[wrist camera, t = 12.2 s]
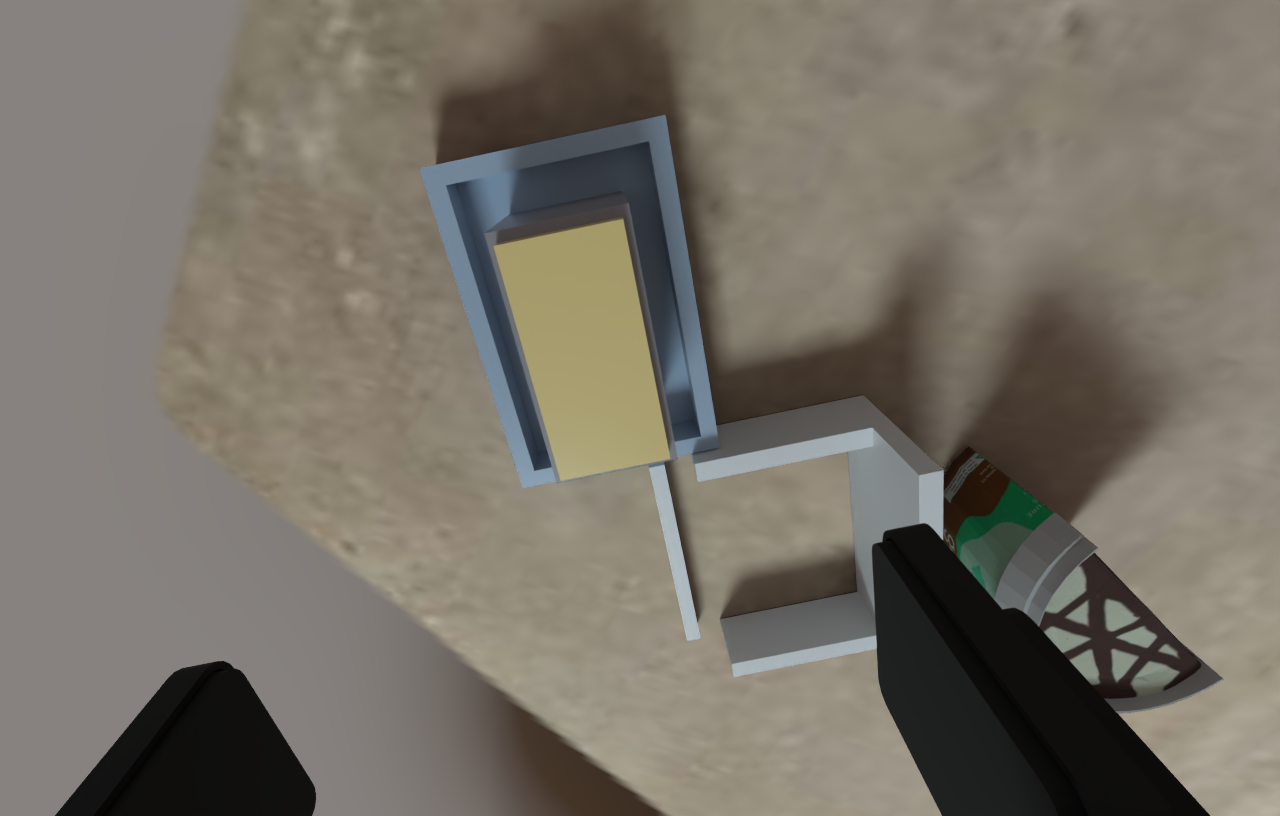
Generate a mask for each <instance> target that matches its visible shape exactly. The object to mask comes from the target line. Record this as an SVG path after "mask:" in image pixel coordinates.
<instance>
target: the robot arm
mask: <svg viewBox="0 0 1280 816" xmlns="http://www.w3.org/2000/svg"><path fill="white" fill-rule="evenodd" d="M872 566H873V585H874V604H875V622H876V641H877V660H878V678H879V684H880V688H881V692H882V695H883V698H884V701H885V703H886V705H887V707H888V709H889V711H890V713H891V715H892V717H893V719H894V721H895V723H896V725H897V727H898V729H899V731H900V733H901V735H902V737H903V739H904V741H905V743H906V745H907V747H908V749H909V751H910V753H911V755H912V757H913V759H914V761H915V763H916V765H917V767H918V769H919V771H920V773H921V775H922V777H923V779H924V781H925V783H926V785H927V787H928V788H929V790H930V792H931V794H932V796H933V798H934V800H935V802H936V804H937V806H938V808H939V810H940V812H941V814H942V816H1210V815H1209V814H1208V813H1207V812H1206V810H1205V809H1204V808H1203V807H1202V806H1201V805H1200V804H1199V803H1198V802H1197V801H1196V799H1195V798H1194V797H1193V796H1192V795H1191V794H1190V793H1189V792H1188V791H1187V790H1186V788H1185V787H1184V786H1183V785H1182V784H1181V783H1180V782H1179V781H1178V780H1177V779H1176V777H1175V776H1174V775H1173V774H1172V773H1171V772H1170V771H1169V770H1168V769H1167V767H1166V766H1165V765H1164V764H1163V763H1162V762H1161V761H1160V760H1159V759H1158V758H1157V756H1156V755H1155V754H1154V753H1153V752H1152V751H1151V750H1150V749H1149V748H1148V747H1147V745H1146V744H1145V743H1144V742H1143V741H1142V740H1141V739H1140V738H1139V737H1138V735H1137V734H1136V733H1135V732H1134V731H1133V730H1132V729H1131V728H1130V727H1129V726H1128V724H1127V723H1126V722H1125V721H1124V720H1123V719H1122V718H1121V717H1120V716H1119V715H1118V713H1117V712H1116V711H1115V710H1114V709H1113V708H1112V707H1111V706H1110V705H1109V703H1108V702H1107V701H1106V700H1105V699H1104V698H1103V697H1102V696H1101V695H1100V694H1099V692H1098V691H1097V690H1096V689H1095V688H1094V687H1093V686H1092V685H1091V684H1090V683H1089V681H1088V680H1087V679H1086V678H1085V677H1084V676H1083V675H1082V674H1081V673H1080V671H1079V670H1078V669H1077V668H1076V667H1075V666H1074V665H1073V664H1072V663H1071V662H1070V660H1069V659H1068V658H1067V657H1066V656H1065V655H1064V654H1063V653H1062V652H1061V651H1060V649H1059V648H1058V647H1057V646H1056V645H1055V644H1054V643H1053V642H1052V641H1051V639H1050V638H1049V637H1048V636H1047V635H1046V634H1045V633H1044V632H1043V631H1042V630H1041V628H1040V627H1039V626H1038V625H1037V624H1036V623H1035V622H1034V621H1033V620H1032V619H1031V618H1030V617H1029V616H1028V615H1027V614H1025V613H1024V612H1023V611H1021V610H1019V609H1017V608H1007V609H1002V608H1001V607H1000V606H999V605H998V604H997V602H996V601H995V600H994V599H993V598H992V597H991V595H990V594H989V593H988V592H987V591H986V590H985V588H984V587H983V586H982V585H981V584H980V583H979V581H978V580H977V579H976V578H975V577H974V576H973V575H972V573H971V572H970V571H969V570H968V569H967V568H966V566H965V565H964V564H963V563H962V562H961V561H960V559H959V558H958V557H957V556H956V555H955V554H954V552H953V551H952V550H951V549H950V548H949V547H948V546H947V544H946V543H945V542H944V541H943V540H942V539H941V537H940V536H939V535H938V534H937V533H936V532H935V530H934V529H933V528H932V527H931V526H930V525H928V524H926V523H921V524H916V525H911V526H906V527H901V528H896V529H891V530H886V531H885V532H884V534H883V540H882V542H879V543H875V544H873V546H872ZM315 803H316V792H315V787H314V785H313V783H312V781H311V780H310V778H309V776H308V775H307V773H306V772H305V770H304V769H303V767H302V765H301V764H300V762H299V761H298V759H297V757H296V756H295V754H294V753H293V751H292V750H291V748H290V746H289V745H288V743H287V742H286V740H285V739H284V737H283V735H282V734H281V732H280V731H279V729H278V727H277V726H276V724H275V723H274V721H273V719H272V718H271V716H270V715H269V713H268V712H267V710H266V708H265V707H264V705H263V704H262V702H261V700H260V699H259V697H258V696H257V694H256V693H255V691H254V689H253V688H252V686H251V685H250V683H249V681H248V680H247V678H246V677H245V675H244V674H243V673H242V672H241V671H240V670H238V669H234V668H233V667H232V665H230V664H229V663H227V662H224V661H217V662H212V663H207V664H202V665H197V666H192V667H186V668H182V669H180V670H178V671H176V672H174V673H173V674H172V675H171V676H170V677H169V678H168V679H167V680H166V681H165V683H164V684H163V685H162V686H161V687H160V689H159V690H158V691H157V692H156V694H155V695H154V696H153V697H152V698H151V700H150V701H149V702H148V703H147V704H146V706H145V707H144V708H143V709H142V711H141V712H140V713H139V714H138V715H137V717H136V718H135V719H134V720H133V722H132V723H131V724H130V725H129V727H128V728H127V729H126V730H125V731H124V733H123V734H122V735H121V736H120V737H119V739H118V740H117V741H116V742H115V744H114V745H113V746H112V747H111V748H110V749H109V751H108V752H107V753H106V755H105V756H104V757H103V758H102V759H101V760H100V762H99V763H98V764H97V765H96V767H95V768H94V769H93V770H92V771H91V773H90V774H89V775H88V776H87V777H86V779H85V780H84V781H83V782H82V784H81V785H80V786H79V787H78V788H77V790H76V791H75V792H74V793H73V794H72V796H71V797H70V798H69V799H68V800H67V802H66V803H65V804H64V805H63V807H62V808H61V809H60V810H59V811H58V813H57V814H56V815H55V816H312V814H313V811H314V809H315Z"/></svg>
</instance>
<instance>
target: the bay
mask: <svg viewBox="0 0 1280 816" xmlns="http://www.w3.org/2000/svg"><path fill="white" fill-rule="evenodd" d="M716 427H717V433H718V439H719V445H720V448H716V449H711V450H706V451H701V452H696V453H691V454H690V457H691V461H692V464H693V467H694V471H695V474H696V477H697V481H698V482H701V481H706V480H711V479H715V478H720V477H725V476H730V475H735V474H740V473H745V472H750V471H754V470H759V469H764V468H769V467H774V466H779V465H784V464H789V463H793V462H798V461H803V460H808V459H813V458H818V457H823V456H828V455H832V454H837V453H842V452H847V451H848V460H849V475H850V490H851V506H852V521H853V536H854V551H855V566H856V581H857V592H854V593H849V594H844V595H839V596H834V597H829V598H824V599H819V600H814V601H809V602H804V603H799V604H794V605H789V606H784V607H779V608H774V609H769V610H764V611H759V612H754V613H749V614H744V615H739V616H734V617H729V618H724V619H720V622H721V627H722V632H723V636H724V640H725V644H726V648H727V652H728V656H729V660H730V664H731V668H732V671H733V675H734V677H737V676H742V675H747V674H752V673H757V672H762V671H767V670H772V669H777V668H782V667H787V666H792V665H797V664H802V663H807V662H812V661H817V660H822V659H827V658H833V657H838V656H843V655H848V654H853V653H858V652H863V651H868V650H873V649H877V641H876V622H875V604H874V585H873V566H872V546H873V544H875V543H879V542H882V540H883V534H884V532H885V531H886V530H891V529H896V528H901V527H906V526H911V525H916V524H921V523H926V524H928V525H930V526H931V527H932V528H933V529H934V530H935V532H936V533H937V534H938V535H939V536H940V537H941V539H942V540H943V484H944V470H943V469H942V468H941V467H940V466H938V465H937V464H936V463H935V462H934V461H933V460H932V459H931V458H930V457H929V456H928V455H927V454H926V453H925V452H924V451H922V450H921V449H920V448H919V447H918V446H917V445H916V444H915V443H914V442H913V441H912V440H911V439H910V438H909V437H908V436H906V435H905V434H904V433H903V432H902V431H901V430H900V429H899V428H898V427H897V426H896V425H895V424H894V423H893V422H891V421H890V420H889V419H888V418H887V417H886V416H885V415H884V414H883V413H882V412H881V411H880V410H879V409H878V408H877V407H875V406H874V405H873V404H872V403H871V402H870V401H869V400H868V399H867V398H866V397H865V396H864V395H862V396H857V397H852V398H847V399H842V400H838V401H833V402H828V403H823V404H818V405H813V406H809V407H804V408H799V409H794V410H789V411H784V412H780V413H775V414H770V415H765V416H760V417H755V418H751V419H746V420H741V421H736V422H731V423H726V424H722V425H717V426H716ZM649 469H650V474H651V479H652V483H653V488H654V492H655V497H656V501H657V506H658V510H659V515H660V519H661V524H662V528H663V533H664V538H665V542H666V547H667V551H668V556H669V560H670V565H671V569H672V574H673V578H674V583H675V587H676V592H677V596H678V601H679V606H680V610H681V615H682V619H683V624H684V628H685V633H686V637H687V641H690V640H695V639H700V633H699V629H698V624H697V619H696V614H695V609H694V604H693V600H692V595H691V590H690V585H689V580H688V576H687V571H686V566H685V561H684V556H683V552H682V547H681V542H680V537H679V532H678V528H677V523H676V518H675V513H674V508H673V504H672V499H671V494H670V489H669V484H668V480H667V475H666V470H665V465H664V462H660V463H655V464H650V465H649Z"/></svg>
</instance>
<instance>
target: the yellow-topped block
mask: <svg viewBox="0 0 1280 816" xmlns="http://www.w3.org/2000/svg"><path fill="white" fill-rule="evenodd" d="M484 234H485V238H486V241H487V245H488V248H489V252H490V255H491V258H492V262H493V265H494V269H495V272H496V276H497V279H498V283H499V286H500V289H501V293H502V296H503V300H504V303H505V307H506V310H507V314H508V317H509V321H510V324H511V327H512V331H513V334H514V338H515V341H516V345H517V348H518V352H519V355H520V358H521V362H522V365H523V369H524V372H525V376H526V379H527V383H528V386H529V390H530V393H531V396H532V400H533V403H534V407H535V410H536V414H537V417H538V421H539V424H540V428H541V431H542V434H543V438H544V441H545V445H546V448H547V452H548V455H549V459H550V462H551V465H552V469H553V472H554V476H555V479H556V483H561V482H566V481H571V480H576V479H581V478H586V477H591V476H596V475H601V474H606V473H611V472H616V471H621V470H626V469H630V468H635V467H640V466H645V465H650V464H655V463H660V462H665V461H670V460H675V459H678V457H677V452H676V447H675V441H674V436H673V431H672V426H671V421H670V415H669V410H668V405H667V400H666V394H665V389H664V384H663V379H662V374H661V368H660V363H659V358H658V353H657V347H656V342H655V337H654V332H653V327H652V321H651V316H650V311H649V306H648V300H647V295H646V290H645V285H644V280H643V274H642V269H641V264H640V259H639V253H638V248H637V243H636V238H635V232H634V227H633V222H632V217H631V212H630V206H629V202H628V200H627V199H626V197H625V195H624V193H623V191H617V192H612V193H608V194H603V195H598V196H593V197H589V198H584V199H579V200H574V201H570V202H565V203H560V204H555V205H551V206H546V207H541V208H536V209H532V210H527V211H522V212H518V213H513V214H509V215H508V216H507V217H505V218H504V219H503V220H501V221H500V222H499V223H497V224H496V225H495V226H493V227H492V228H491V229H489V230H488V231H487V232H485V233H484Z"/></svg>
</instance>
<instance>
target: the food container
mask: <svg viewBox="0 0 1280 816" xmlns="http://www.w3.org/2000/svg"><path fill="white" fill-rule="evenodd" d="M943 541H944V542H945V543H946V544H947V546H948V547H949V548H950V549H951V550H952V551H953V552H954V554H955V555H956V556H957V557H958V558H959V559H960V561H961V562H962V563H963V564H964V565H965V566H966V568H967V569H968V570H969V571H970V572H971V573H972V575H973V576H974V577H975V578H976V579H977V580H978V581H979V583H980V584H981V585H982V586H983V587H984V588H985V590H986V591H987V592H988V593H989V594H990V595H991V597H992V598H993V599H994V600H995V601H996V602H997V604H998V605H999V606H1000V607H1001V608H1002V609H1007V608H1017V609H1019V610H1021V611H1023V612H1024V613H1025V614H1027V615H1028V616H1029V617H1030V618H1031V619H1032V620H1033V621H1034V622H1035V623H1036V624H1037V625H1038V626H1039V627H1040V628H1041V630H1042V631H1043V632H1044V633H1045V634H1046V635H1047V636H1048V637H1049V638H1050V639H1051V641H1052V642H1053V643H1054V644H1055V645H1056V646H1057V647H1058V648H1059V649H1060V651H1061V652H1062V653H1063V654H1064V655H1065V656H1066V657H1067V658H1068V659H1069V660H1070V662H1071V663H1072V664H1073V665H1074V666H1075V667H1076V668H1077V669H1078V670H1079V671H1080V673H1081V674H1082V675H1083V676H1084V677H1085V678H1086V679H1087V680H1088V681H1089V683H1090V684H1091V685H1092V686H1093V687H1094V688H1095V689H1096V690H1097V691H1098V692H1099V694H1100V695H1101V696H1102V697H1103V698H1104V699H1105V700H1106V701H1107V702H1108V703H1109V705H1110V706H1111V707H1112V708H1113V709H1114V710H1115V711H1116V712H1117V713H1131V712H1138V711H1145V710H1151V709H1155V708H1159V707H1162V706H1166V705H1170V704H1173V703H1175V702H1178V701H1181V700H1184V699H1187V698H1189V697H1191V696H1193V695H1195V694H1198V693H1200V692H1202V691H1204V690H1206V689H1208V688H1210V687H1211V686H1213V685H1215V684H1217V683H1219V682H1220V681H1222V680H1224V679H1223V678H1222V677H1221V676H1219V675H1218V674H1217V673H1216V672H1215V671H1214V670H1212V669H1211V668H1210V667H1209V666H1208V665H1207V664H1205V663H1204V662H1203V661H1202V660H1201V659H1200V658H1198V657H1197V656H1196V655H1195V654H1194V653H1193V652H1191V651H1190V650H1189V649H1188V648H1187V647H1186V646H1185V645H1183V644H1182V643H1181V642H1180V641H1179V640H1178V639H1177V638H1176V637H1175V636H1174V635H1173V634H1172V633H1171V632H1170V631H1169V630H1168V629H1167V628H1166V627H1165V626H1164V625H1163V624H1162V623H1161V621H1160V620H1159V619H1158V618H1157V617H1156V616H1155V615H1154V614H1153V613H1152V612H1151V611H1150V610H1149V609H1148V608H1147V607H1146V606H1145V605H1144V604H1143V603H1142V602H1141V601H1140V600H1139V599H1138V598H1137V597H1136V596H1135V595H1134V594H1133V592H1132V591H1131V590H1130V589H1129V588H1128V587H1127V586H1126V585H1125V584H1124V583H1123V582H1122V581H1121V580H1120V579H1119V578H1118V577H1117V576H1116V575H1115V574H1114V573H1113V571H1112V570H1111V569H1110V568H1109V567H1108V566H1107V565H1106V564H1105V563H1104V562H1103V561H1102V560H1101V559H1100V558H1099V557H1098V556H1097V555H1096V554H1095V553H1094V552H1096V551H1097V550H1098V549H1099V548H1098V547H1096V546H1095V545H1094V544H1093V543H1092V542H1090V541H1089V540H1088V539H1087V538H1085V537H1084V536H1083V535H1082V534H1081V533H1080V532H1079V531H1078V530H1076V529H1075V528H1074V527H1073V526H1072V525H1070V524H1069V523H1068V522H1067V521H1066V520H1064V519H1063V518H1062V517H1061V516H1060V515H1058V514H1057V513H1056V512H1054V513H1053V512H1052V511H1051V510H1050V509H1048V508H1047V507H1046V506H1044V505H1043V504H1042V503H1041V502H1039V501H1038V500H1037V499H1035V498H1034V497H1033V496H1032V495H1030V494H1029V493H1028V492H1027V491H1025V490H1024V489H1023V488H1021V487H1020V486H1019V485H1018V484H1016V483H1015V482H1014V481H1012V480H1011V479H1010V478H1009V477H1007V476H1006V475H1005V474H1004V473H1002V472H1001V471H1000V470H998V469H997V468H996V467H995V466H993V465H992V464H991V463H989V462H988V461H987V460H986V459H984V458H983V457H982V456H981V455H979V454H978V453H977V452H975V451H974V450H973V449H972V448H970V447H968V448H967V449H966V450H965V451H964V452H963V453H962V454H961V455H960V456H959V457H958V458H957V459H956V460H954V461H953V463H952V464H951V466H950V467H949V469H948V470H947V472H946V474H945V475H944V484H943Z"/></svg>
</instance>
